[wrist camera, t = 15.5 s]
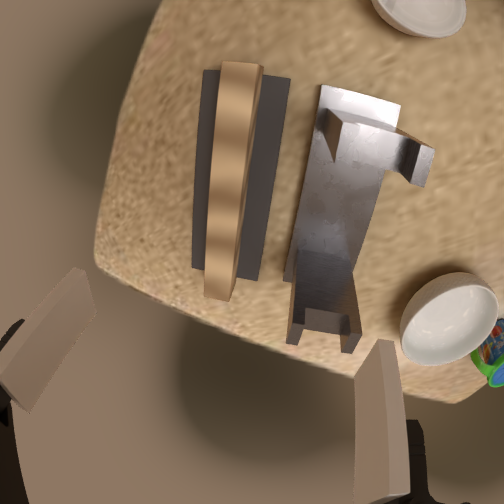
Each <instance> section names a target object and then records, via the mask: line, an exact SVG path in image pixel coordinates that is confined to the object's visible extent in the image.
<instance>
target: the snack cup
mask: <svg viewBox="0 0 504 504" xmlns="http://www.w3.org/2000/svg"><path fill="white" fill-rule="evenodd" d="M481 348H482V353H483V357H484V361H485V363H484V361H483V360H482V359H481V357H480V356H479V352H478V347H477V348H476V349H475V350H473V351H472V352H471V359H472V361H473V363H474V364H475V365H476V367H477V368H478V369H479V371H480V372H481V373H483V374H484V375H486V376H487V381H488V384H489V386H491V387H500V386H503V385H504V319H502V320H499V321H496V323H495V326H494V328H493V329H492V331H491V333H490V334H489V336H488V337H487V338H486V339H485V340H484V341H483V342H482V344H481Z"/></svg>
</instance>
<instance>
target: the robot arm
mask: <svg viewBox="0 0 504 504" xmlns="http://www.w3.org/2000/svg"><path fill="white" fill-rule="evenodd" d="M96 314H97V313H96V309H95V305H94V302H93V298H92V294H91V291H90V287H89V283H88V279H87V275H86V271H84V270H81V269H78V268H73V269H72V270H71V271H70V272H69V273H68V274H67V275H66V276H65V277H64V278H63V279H62V280H61V281H60V282H59V283H58V285H56V286H55V287H54V289H53V290H52V291H51V292H50V293H49V294H48V295H47V296H46V297H45V299H44V300H43V301H42V302H41V303H40V304H39V305H38V306H37V307H36V309H35V310H34V311H33V312H32V313H31V314H30V316H29V317H28V318H27V319H26V320H24V319H21V320H19V321H17V322H16V323H14V324H13V325H12V326H11V327H10V328H9V330H8V331H7V332H6V334H5V335H4V336H3V337H2V338H1V341H0V504H29V502H28V498H27V494H26V490H25V486H24V482H23V478H22V473H21V469H20V464H19V458H18V453H17V447H16V440H15V433H14V425H13V416H12V407H11V403H10V401H11V399H12V400H13V401H14V402H15V403H16V404H17V405H18V406H19V407H21V408H22V409H23V410H25V411H26V412H28V413H30V412H31V409H32V408H33V407H34V405H35V403H36V402H37V400H38V399H39V397H40V395H41V394H42V392H43V390H44V389H45V387H46V386H47V384H48V383H49V381H50V380H51V378H52V377H53V375H54V373H55V372H56V370H57V369H58V367H59V366H60V364H61V363H62V361H63V360H64V359H65V357H66V355H67V354H68V353H69V351H70V350H71V348H72V347H73V345H74V344H75V343H76V341H77V340H78V338H79V337H80V336H81V333H83V331H84V330H85V328H86V327H87V326H88V324H89V323H90V321H91V320H92V319H93V318H94V316H95V315H96ZM354 379H355V411H356V412H355V415H356V416H355V417H356V445H355V477H354V495H353V504H443V503H439V502H436V501H435V500H434V499H433V497H432V496H430V494H429V491H428V483H427V466H426V455H425V446H424V435H423V430H422V428H421V426H420V424H419V422H418V420H406V418H405V409H404V403H403V402H404V401H403V394H402V387H401V380H400V373H399V367H398V361H397V356H396V350H395V345H394V341H389V340H383V339H378V340H377V341H376V343H375V345H374V346H373V348H372V349H371V351H370V353H369V354H368V356H367V357H366V359H365V361H364V362H363V364H362V365H361V367H360V368H359V370H358V371H357V373H356V374H355V376H354ZM462 504H470V503H467V502H465V503H462Z"/></svg>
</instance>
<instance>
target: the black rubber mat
mask: <svg viewBox="0 0 504 504" xmlns="http://www.w3.org/2000/svg"><path fill="white" fill-rule="evenodd" d="M220 75H221V71H217V70H204V73H203V83H202V92H201V102H200V113H199V125H198V137H197V151H196V166H195V183H194V204H193V230H192V268H195V269H200V270H204V271H205V254H206V235H207V219H208V203H209V189H210V176H211V163H212V152H213V141H214V130H215V120H216V110H217V101H218V92H219V83H220ZM290 80H291V79H288V78H282V77H275V76H268V75H263V76H262V83H261V90H260V97H259V104H258V111H257V119H256V126H255V134H254V141H253V148H252V156H251V164H250V171H249V179H248V187H247V195H246V202H245V210H244V218H243V226H242V234H241V242H240V251H239V259H238V267H237V275H236V277H238V278H243V279H248V280H253V281H258V275H259V270H260V264H261V258H262V252H263V246H264V240H265V234H266V228H267V222H268V217H269V211H270V205H271V199H272V192H273V186H274V180H275V174H276V168H277V162H278V156H279V150H280V143H281V137H282V131H283V125H284V118H285V112H286V106H287V99H288V93H289V86H290Z"/></svg>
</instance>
